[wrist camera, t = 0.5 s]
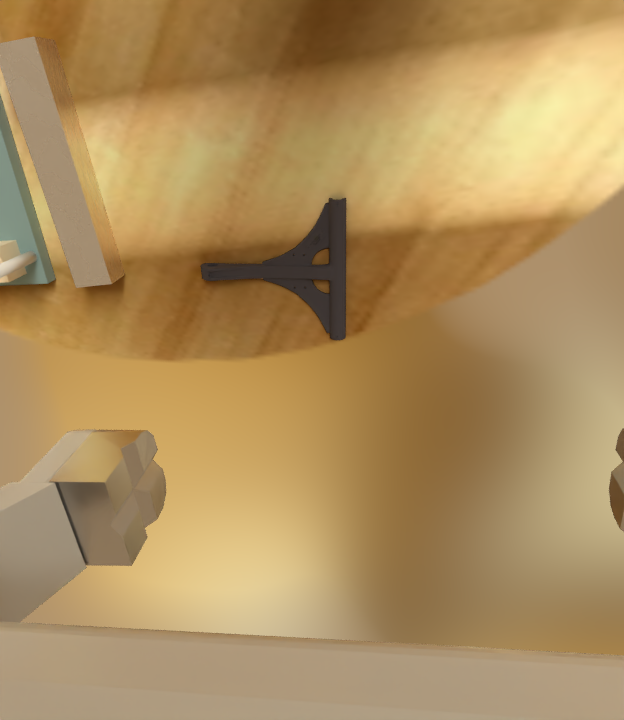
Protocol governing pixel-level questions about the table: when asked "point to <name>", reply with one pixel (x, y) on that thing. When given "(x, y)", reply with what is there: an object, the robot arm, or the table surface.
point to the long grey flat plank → (61, 158)
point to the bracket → (305, 269)
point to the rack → (18, 220)
